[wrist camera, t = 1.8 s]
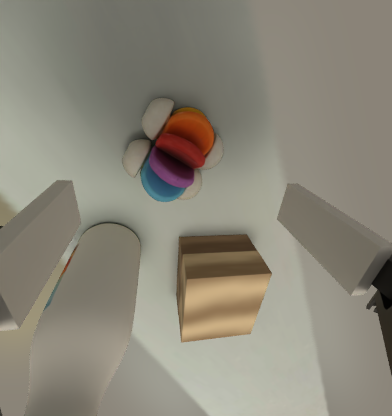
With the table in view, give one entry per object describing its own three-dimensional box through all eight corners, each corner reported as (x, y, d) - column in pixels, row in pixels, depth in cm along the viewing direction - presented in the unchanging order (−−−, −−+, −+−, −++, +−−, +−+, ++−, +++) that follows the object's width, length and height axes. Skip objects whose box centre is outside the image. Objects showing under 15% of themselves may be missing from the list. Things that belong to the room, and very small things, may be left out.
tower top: (182, 254, 26) (187, 279, 22) (257, 250, 28) (271, 273, 24) (178, 315, 32) (181, 342, 28) (240, 308, 33) (250, 333, 30)
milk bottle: (96, 210, 25) (-35, 476, 8) (152, 237, 28) (145, 467, 11) (69, 253, 27) (-79, 531, 10) (123, 273, 30) (80, 510, 13)
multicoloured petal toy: (227, 132, 23) (254, 147, 17) (182, 200, 26) (190, 234, 20) (160, 82, 20) (161, 78, 14) (117, 167, 23) (102, 196, 17)
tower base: (178, 235, 29) (182, 254, 26) (245, 232, 31) (256, 250, 28) (176, 293, 35) (178, 314, 32) (232, 288, 37) (240, 308, 33)
